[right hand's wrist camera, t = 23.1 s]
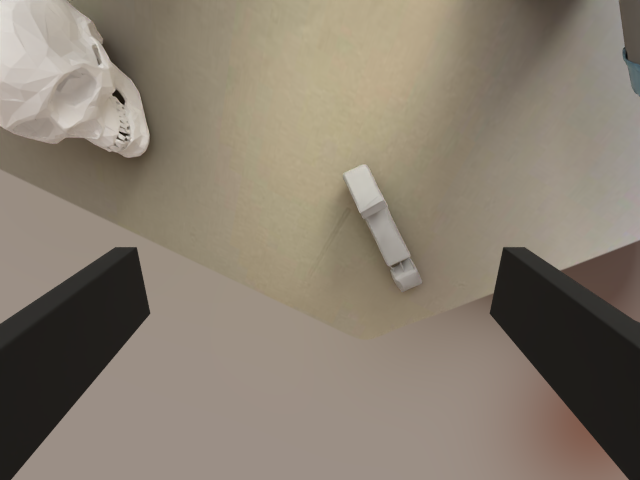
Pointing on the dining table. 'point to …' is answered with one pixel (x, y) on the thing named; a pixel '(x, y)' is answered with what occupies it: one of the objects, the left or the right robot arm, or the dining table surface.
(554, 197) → the dining table surface
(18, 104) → the skull
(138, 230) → the dining table surface
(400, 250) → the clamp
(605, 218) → the dining table surface
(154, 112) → the dining table surface
